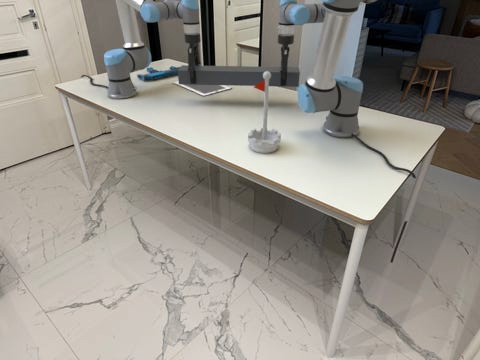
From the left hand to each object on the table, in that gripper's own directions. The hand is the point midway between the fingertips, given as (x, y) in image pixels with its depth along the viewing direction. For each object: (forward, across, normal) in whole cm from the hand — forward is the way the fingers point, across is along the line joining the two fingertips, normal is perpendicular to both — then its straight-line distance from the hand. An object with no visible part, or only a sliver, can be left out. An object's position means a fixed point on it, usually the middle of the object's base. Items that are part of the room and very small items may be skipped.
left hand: (195, 80), depth 173 cm
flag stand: (+11, +48, +37) cm, 61 cm away
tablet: (+12, -28, -2) cm, 30 cm away
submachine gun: (+12, -50, -33) cm, 61 cm away
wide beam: (+1, 0, +22) cm, 22 cm away
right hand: (0, 0, +45) cm, 45 cm away
